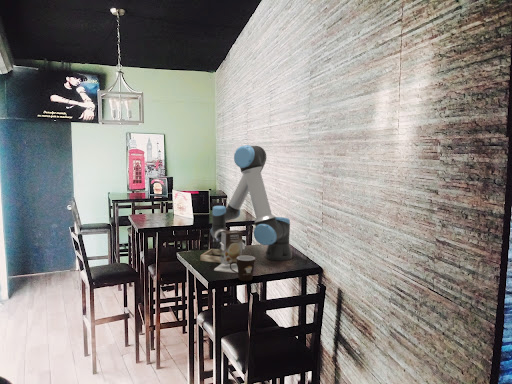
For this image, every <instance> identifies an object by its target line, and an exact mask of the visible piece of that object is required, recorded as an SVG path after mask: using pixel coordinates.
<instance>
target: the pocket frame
mask: <svg viewBox="0 0 512 384" xmlns="http://www.w3.org/2000/svg"><path fill="white" fill-rule="evenodd" d="M200 261H203V262H209V263H219V264H221V263H222V262H221V248H219V249H218V248H217V249H216V248H210V249H208V250H206V251H205V252H204V253H201V255H200Z"/></svg>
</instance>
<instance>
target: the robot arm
mask: <svg viewBox="0 0 512 384" xmlns="http://www.w3.org/2000/svg"><path fill="white" fill-rule="evenodd" d="M233 160H234V163H235V165H236V166H237V167H238V168H240V173H241V174H242V176H241V178H240V180H239V182H238V184H237V186H236V187H235V190H234V192H233V193H232V196H231V198H230V199H229V202H228V204H227V206H225V205H214V206H213V207H212V211H211V212H212V213H211V214H212V218H211V219H212V223H211V224H212V225H211V226H212V227H211V229H210V235H211V236H212V245H213V246H212V247H213V248H217V249H220V250H221V249H222V250H223V251H224V244H223V243H222V242H221V235H222V231H227V230H226V226H227V224H226V223H227V222H228V221H231V220H235V219H237V218H239V217H240V215H241V208H242V207H243V204H244V202H245V200H246V198H247V196H248V194H249V195H250V200H251V203H252V207H253V211H254V214H255V220H254V226H255V227H254V230H253V237H254V239H255V240H256V242H257V243H258V244H260V245H262V246H267V247H266V250H265V253H264V255H265V256H264V257H265V258H266V259H267V260H271V261H278V262H280V261H289V260H291V259H292V257H293V253H292V250H291V246H290V230H291V229H290V228H291V222H290V221H291V219H290V218H288V217H282V216H275V215H274V214H273V213H272V210H271V207H270V206H271V205H270V203H269V198H268V194H267V191H266V186H265V183H264V180H263V176H262V171H263V169H264V166H265V165H266V162H267V152H266V150H265V149H264V148H263V147H261V146H259V145H248V144H246V145H241V146H239V147H238V148H237V149H236V150H235V151H234V156H233ZM246 243H247V241H246V240H245V239H243V238H242V250H245V247H246Z"/></svg>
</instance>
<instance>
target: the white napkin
mask: <svg viewBox="0 0 512 384" xmlns="http://www.w3.org/2000/svg"><path fill="white" fill-rule="evenodd" d="M231 268H232V270H234V271H236V272H238V266H237V264H231ZM232 270H231V269H230V264H229V265H225V264H223V263H219V265H218V266H216V267H215V268H214V269H213V271H215V272H223V273H233V274H234V273H235V272H233V271H232ZM235 274H236V273H235Z"/></svg>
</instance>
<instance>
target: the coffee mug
mask: <svg viewBox="0 0 512 384" xmlns="http://www.w3.org/2000/svg"><path fill="white" fill-rule="evenodd" d="M255 262H256V257H255V256H252V255H242V256H238V257H237V262H232V263H230V269H231V270H232V268H231V264H233V263H236V264H237V266H238V272H236V271H234V270H232V271H233V272H235V274H237V275H238V276H237V277H238V280H239V281H242V282H249V281H252V280H253V275H254V268H255Z"/></svg>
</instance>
